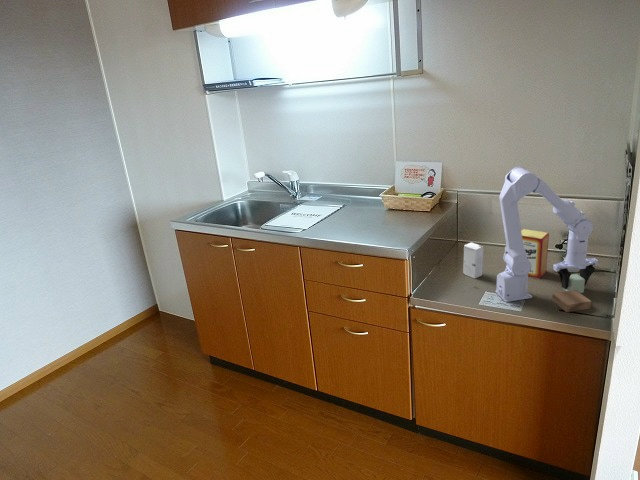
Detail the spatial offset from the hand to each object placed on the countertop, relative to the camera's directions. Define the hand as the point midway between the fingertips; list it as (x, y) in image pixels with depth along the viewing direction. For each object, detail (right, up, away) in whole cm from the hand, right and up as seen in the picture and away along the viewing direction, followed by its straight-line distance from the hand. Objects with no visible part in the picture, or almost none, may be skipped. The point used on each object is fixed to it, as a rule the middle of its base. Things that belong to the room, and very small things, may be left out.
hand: (573, 286), depth 157 cm
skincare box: (-28, +2, +20) cm, 34 cm away
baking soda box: (-8, +4, +16) cm, 18 cm away
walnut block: (-5, -5, -7) cm, 10 cm away
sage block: (0, -1, +1) cm, 2 cm away
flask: (+7, +5, +15) cm, 18 cm away
